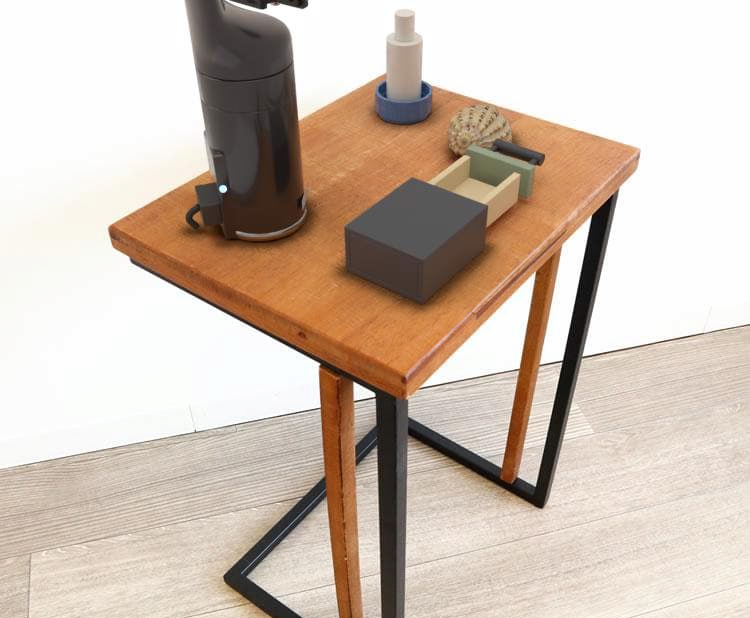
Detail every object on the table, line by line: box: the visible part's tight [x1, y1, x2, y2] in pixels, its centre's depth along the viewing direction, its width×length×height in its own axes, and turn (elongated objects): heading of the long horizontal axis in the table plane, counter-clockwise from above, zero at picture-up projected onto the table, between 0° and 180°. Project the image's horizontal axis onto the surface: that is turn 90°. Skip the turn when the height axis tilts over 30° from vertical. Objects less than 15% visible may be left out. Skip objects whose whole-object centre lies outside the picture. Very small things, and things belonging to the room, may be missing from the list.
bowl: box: [374, 79, 434, 125], centre depth 107 cm, size 7×7×3 cm
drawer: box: [427, 138, 546, 229], centre depth 91 cm, size 14×8×4 cm, turn 143°
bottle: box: [385, 8, 424, 102], centre depth 103 cm, size 4×4×12 cm
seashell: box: [446, 103, 513, 157], centre depth 100 cm, size 8×6×10 cm
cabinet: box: [343, 176, 488, 305], centre depth 83 cm, size 11×9×5 cm
